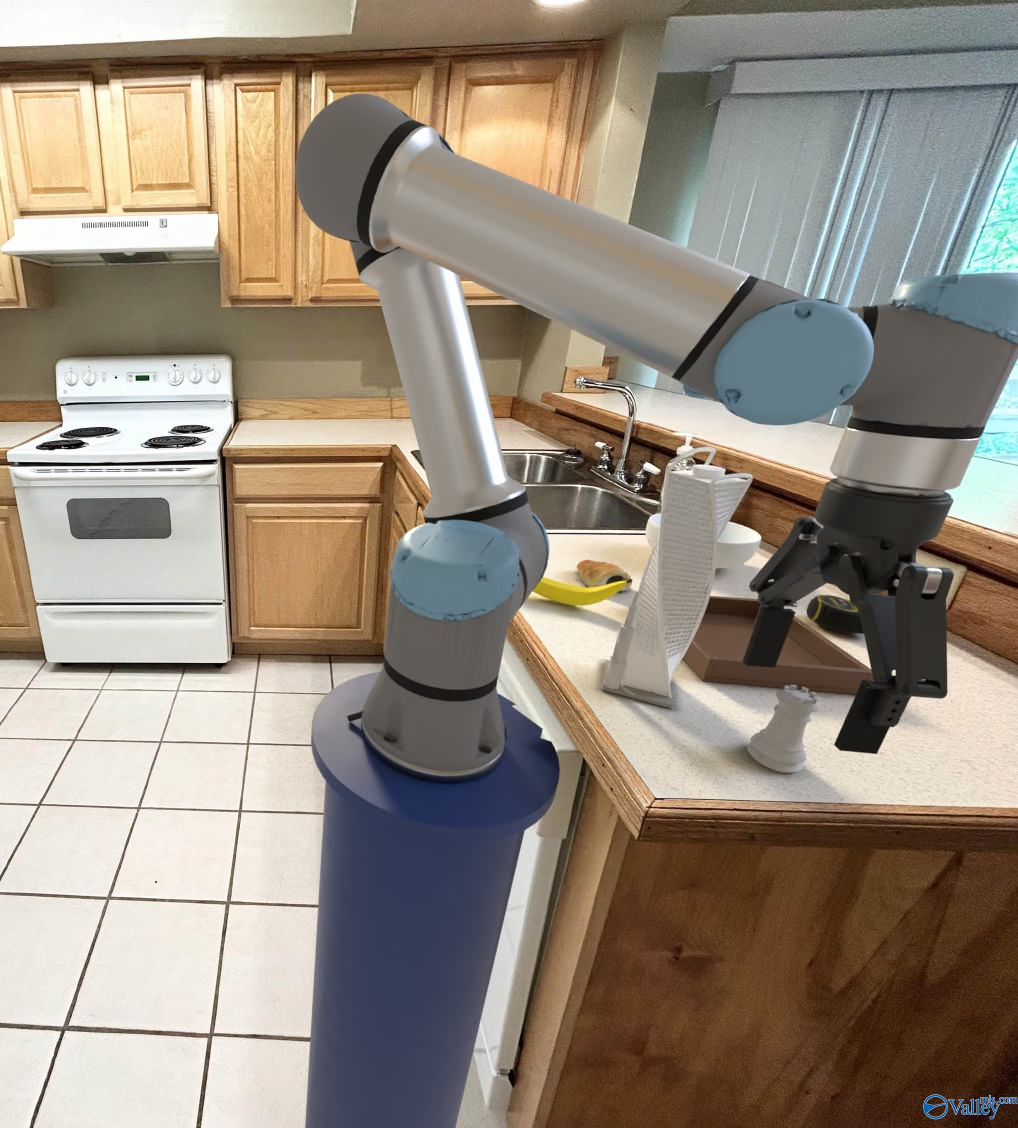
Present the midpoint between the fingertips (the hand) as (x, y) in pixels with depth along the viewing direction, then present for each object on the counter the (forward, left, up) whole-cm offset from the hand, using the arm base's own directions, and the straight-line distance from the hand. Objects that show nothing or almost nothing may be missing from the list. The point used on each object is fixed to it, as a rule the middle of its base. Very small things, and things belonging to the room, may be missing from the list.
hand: (801, 702), depth 56 cm
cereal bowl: (+18, +56, -7) cm, 59 cm away
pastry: (-2, +43, -7) cm, 44 cm away
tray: (+9, +24, -7) cm, 27 cm away
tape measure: (+27, +33, -7) cm, 43 cm away
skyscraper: (-8, +13, -7) cm, 16 cm away
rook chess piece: (0, 0, -7) cm, 7 cm away
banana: (-12, +35, -7) cm, 37 cm away
